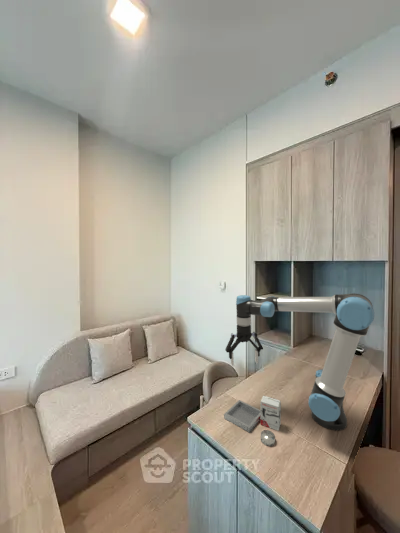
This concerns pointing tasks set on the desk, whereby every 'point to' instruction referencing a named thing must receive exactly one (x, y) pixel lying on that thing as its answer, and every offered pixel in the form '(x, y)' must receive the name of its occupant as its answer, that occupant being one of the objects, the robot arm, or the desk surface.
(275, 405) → the ink box
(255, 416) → the square metal tray
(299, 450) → the desk surface
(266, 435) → the shiny grey rounded piece
